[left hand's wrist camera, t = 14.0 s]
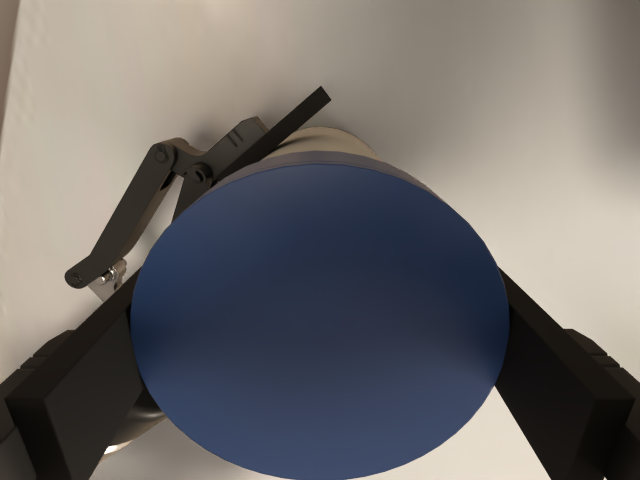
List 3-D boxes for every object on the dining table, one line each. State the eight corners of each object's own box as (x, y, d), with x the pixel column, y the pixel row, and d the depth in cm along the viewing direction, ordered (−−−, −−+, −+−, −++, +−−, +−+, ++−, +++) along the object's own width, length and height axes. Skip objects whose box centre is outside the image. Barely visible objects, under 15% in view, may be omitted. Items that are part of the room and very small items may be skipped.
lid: (419, 85, 10) (446, 83, 8) (511, 373, 13) (545, 423, 11) (95, 235, 11) (46, 265, 9) (253, 458, 15) (243, 515, 13)
